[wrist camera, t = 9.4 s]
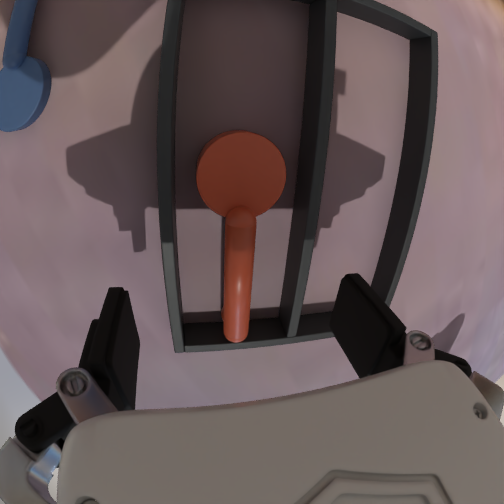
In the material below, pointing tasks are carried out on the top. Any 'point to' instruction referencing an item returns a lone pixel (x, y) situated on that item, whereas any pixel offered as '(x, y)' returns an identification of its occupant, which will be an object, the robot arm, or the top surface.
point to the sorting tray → (305, 173)
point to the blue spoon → (22, 73)
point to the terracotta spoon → (239, 210)
